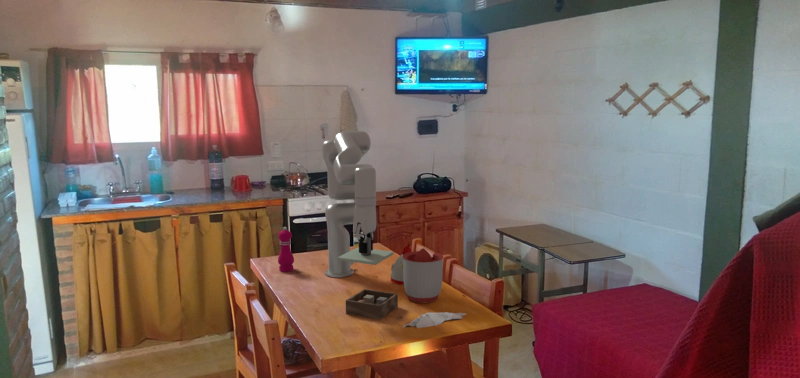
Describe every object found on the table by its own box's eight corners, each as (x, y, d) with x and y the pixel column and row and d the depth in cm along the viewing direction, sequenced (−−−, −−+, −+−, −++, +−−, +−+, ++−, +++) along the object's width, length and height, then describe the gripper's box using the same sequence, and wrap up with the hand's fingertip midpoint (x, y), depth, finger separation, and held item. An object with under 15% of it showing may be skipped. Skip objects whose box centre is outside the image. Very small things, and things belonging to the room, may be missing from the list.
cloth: (461, 310, 205) (461, 304, 204) (477, 324, 192) (477, 318, 191) (393, 318, 197) (393, 312, 197) (404, 333, 184) (404, 326, 184)
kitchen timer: (385, 282, 235) (385, 248, 233) (397, 273, 248) (397, 240, 245) (416, 286, 230) (416, 251, 228) (427, 277, 242) (427, 243, 240)
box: (364, 301, 212) (364, 288, 212) (397, 306, 207) (397, 293, 206) (345, 313, 200) (345, 300, 199) (380, 319, 194) (380, 306, 193)
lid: (357, 249, 212) (357, 231, 210) (393, 254, 206) (393, 235, 204) (337, 260, 198) (337, 240, 197) (375, 265, 192) (375, 245, 191)
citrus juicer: (448, 293, 222) (449, 244, 219) (437, 307, 206) (437, 255, 203) (411, 288, 227) (411, 241, 224) (397, 303, 211) (396, 251, 208)
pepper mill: (290, 272, 249) (289, 228, 246) (275, 271, 251) (274, 228, 248) (296, 268, 256) (295, 225, 253) (282, 267, 258) (280, 224, 255)
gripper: (366, 197, 208) (367, 245, 210) (344, 204, 193) (345, 256, 195) (385, 198, 205) (385, 247, 207) (364, 206, 190) (364, 258, 192)
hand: (365, 251), depth 201 cm, fingers closed on lid, 3 cm apart
